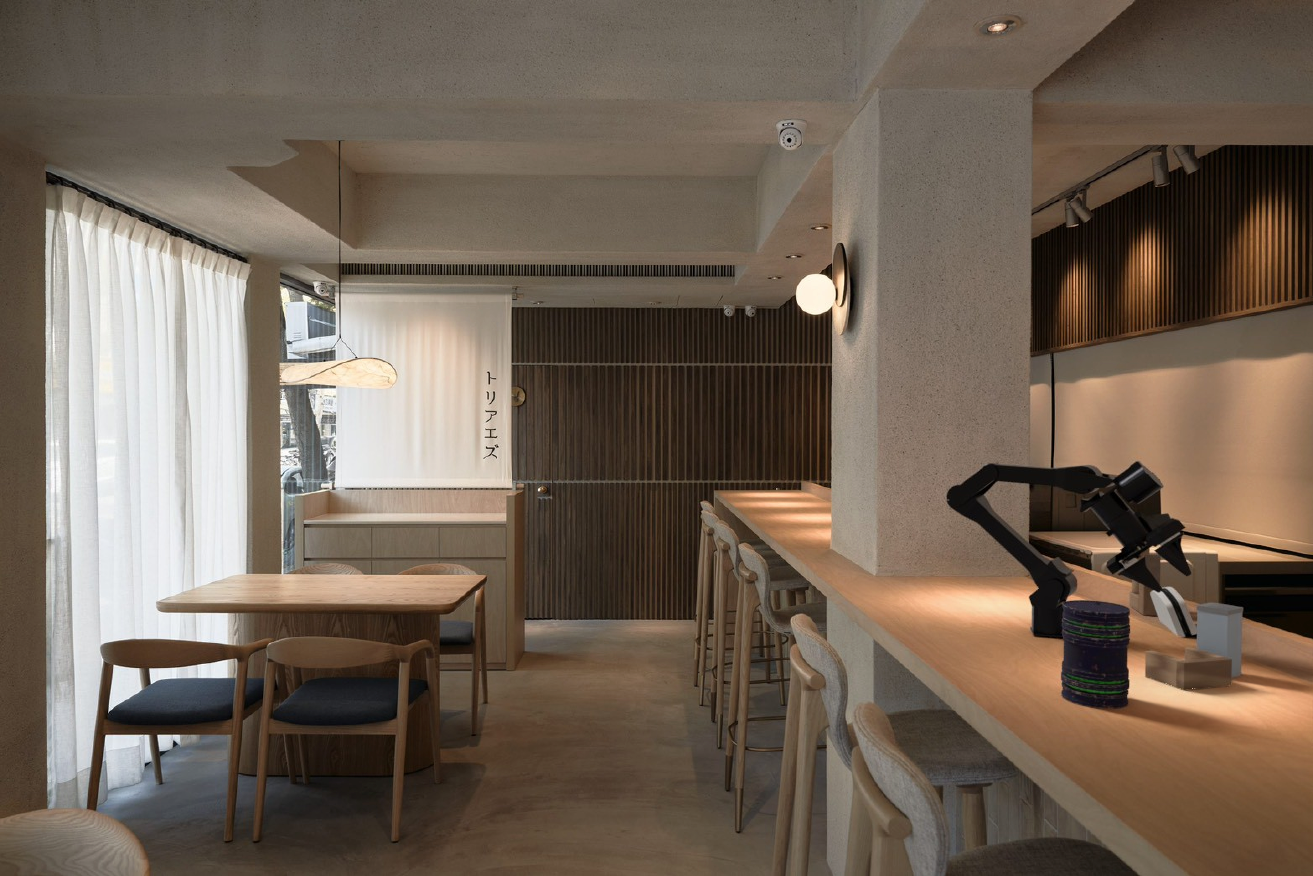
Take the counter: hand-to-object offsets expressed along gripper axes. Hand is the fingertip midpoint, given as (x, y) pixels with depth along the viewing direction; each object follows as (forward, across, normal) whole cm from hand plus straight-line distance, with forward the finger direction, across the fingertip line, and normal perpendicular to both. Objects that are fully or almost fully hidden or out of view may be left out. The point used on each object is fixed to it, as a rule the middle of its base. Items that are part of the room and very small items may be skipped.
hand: (1174, 583), depth 171 cm
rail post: (+16, -6, +10) cm, 20 cm away
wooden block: (+3, +38, -20) cm, 43 cm away
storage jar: (+7, -16, +40) cm, 44 cm away
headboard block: (+13, -8, +19) cm, 24 cm away
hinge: (+9, +23, -11) cm, 27 cm away
